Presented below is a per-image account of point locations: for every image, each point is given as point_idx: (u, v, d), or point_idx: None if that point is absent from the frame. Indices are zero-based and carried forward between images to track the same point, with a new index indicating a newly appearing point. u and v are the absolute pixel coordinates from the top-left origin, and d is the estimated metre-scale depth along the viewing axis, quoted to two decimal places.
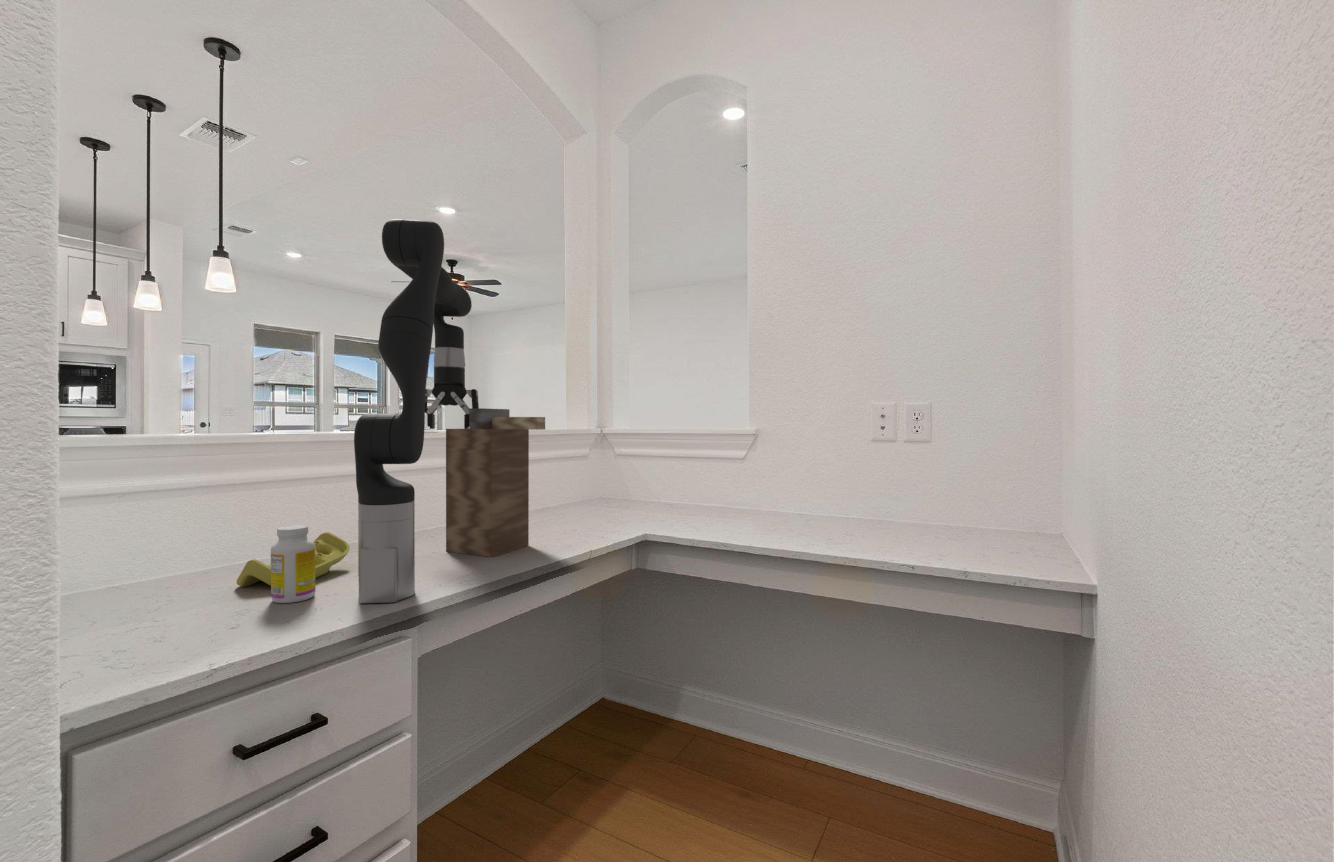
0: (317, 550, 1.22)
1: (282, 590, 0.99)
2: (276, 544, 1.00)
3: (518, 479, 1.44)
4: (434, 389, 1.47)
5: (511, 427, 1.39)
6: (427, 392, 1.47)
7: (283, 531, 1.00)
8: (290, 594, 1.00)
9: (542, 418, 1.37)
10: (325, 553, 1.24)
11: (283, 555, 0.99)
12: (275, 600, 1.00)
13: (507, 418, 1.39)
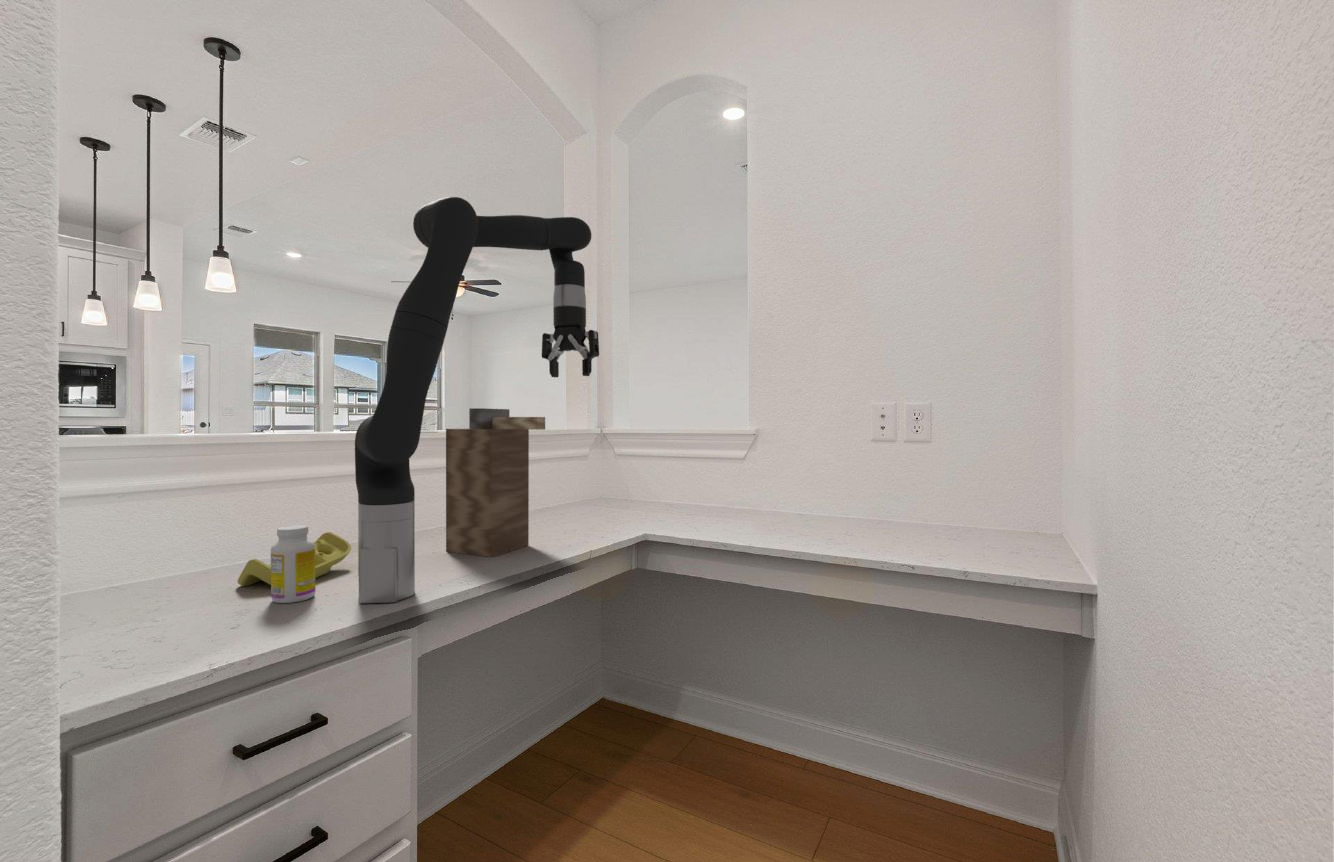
0: (319, 550, 1.23)
1: (282, 590, 0.99)
2: (276, 544, 1.00)
3: (518, 479, 1.44)
4: None
5: (511, 427, 1.39)
6: None
7: (283, 531, 1.00)
8: (290, 594, 1.00)
9: (542, 418, 1.37)
10: (327, 553, 1.24)
11: (283, 555, 0.99)
12: (275, 600, 1.00)
13: (507, 418, 1.39)
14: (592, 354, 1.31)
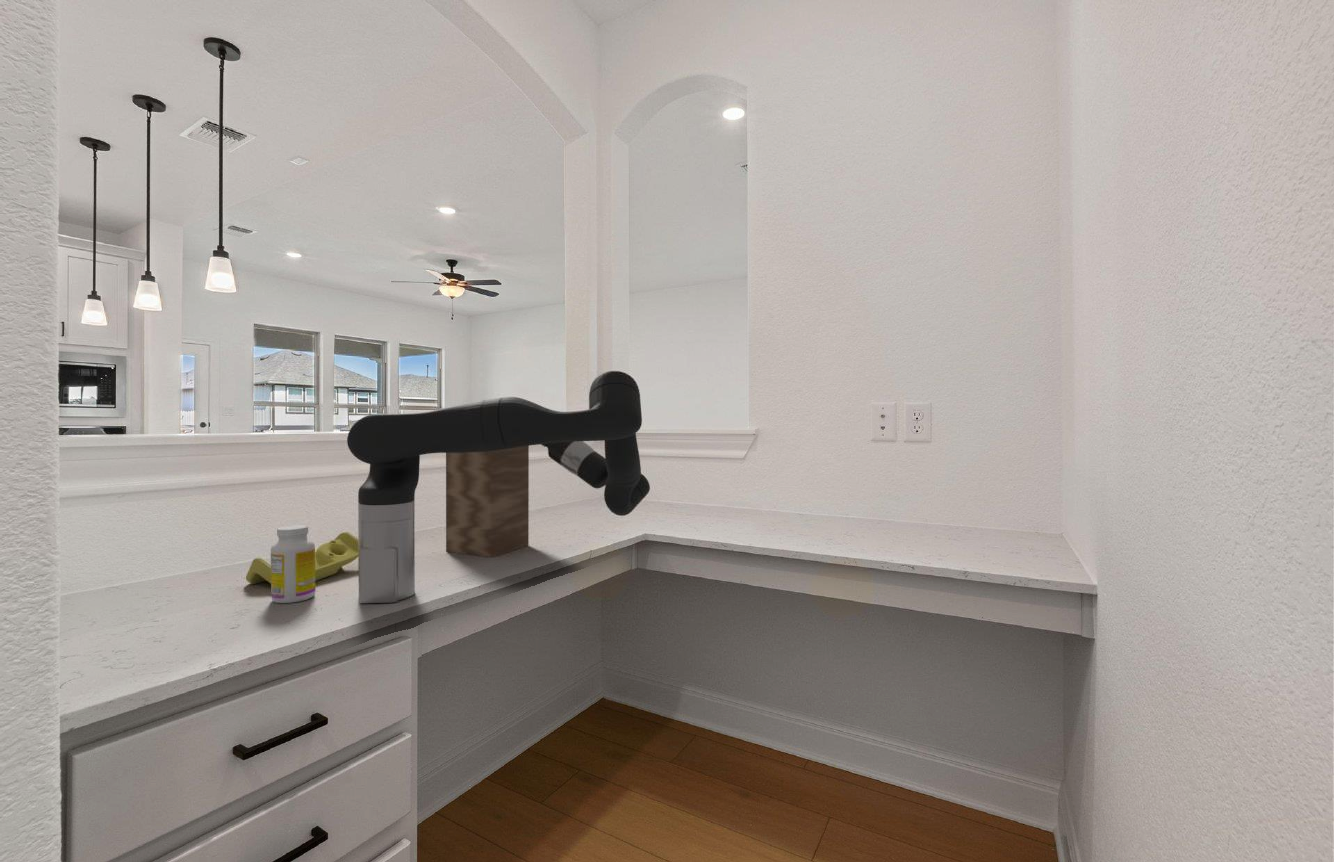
0: (332, 550, 1.23)
1: (282, 590, 0.99)
2: (276, 544, 1.00)
3: (518, 479, 1.44)
4: (542, 444, 1.33)
5: None
6: None
7: (283, 531, 1.00)
8: (290, 594, 1.00)
9: None
10: (341, 553, 1.24)
11: (283, 555, 0.99)
12: (275, 600, 1.00)
13: None
14: None
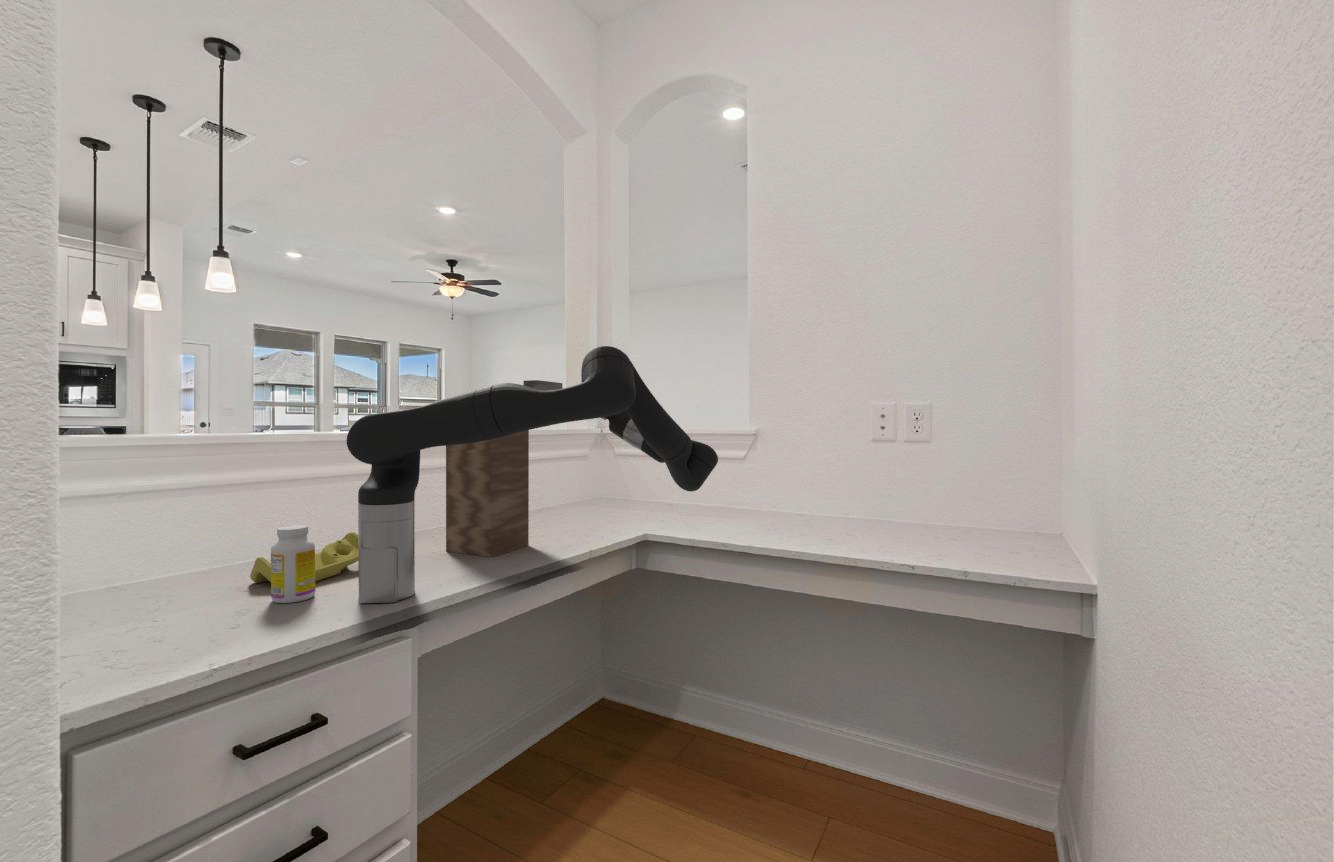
0: (338, 550, 1.23)
1: (282, 590, 0.99)
2: (276, 544, 1.00)
3: (518, 479, 1.44)
4: (603, 417, 1.26)
5: None
6: None
7: (283, 531, 1.00)
8: (290, 594, 1.00)
9: None
10: (346, 553, 1.24)
11: (283, 555, 0.99)
12: (275, 600, 1.00)
13: None
14: None
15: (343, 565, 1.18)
